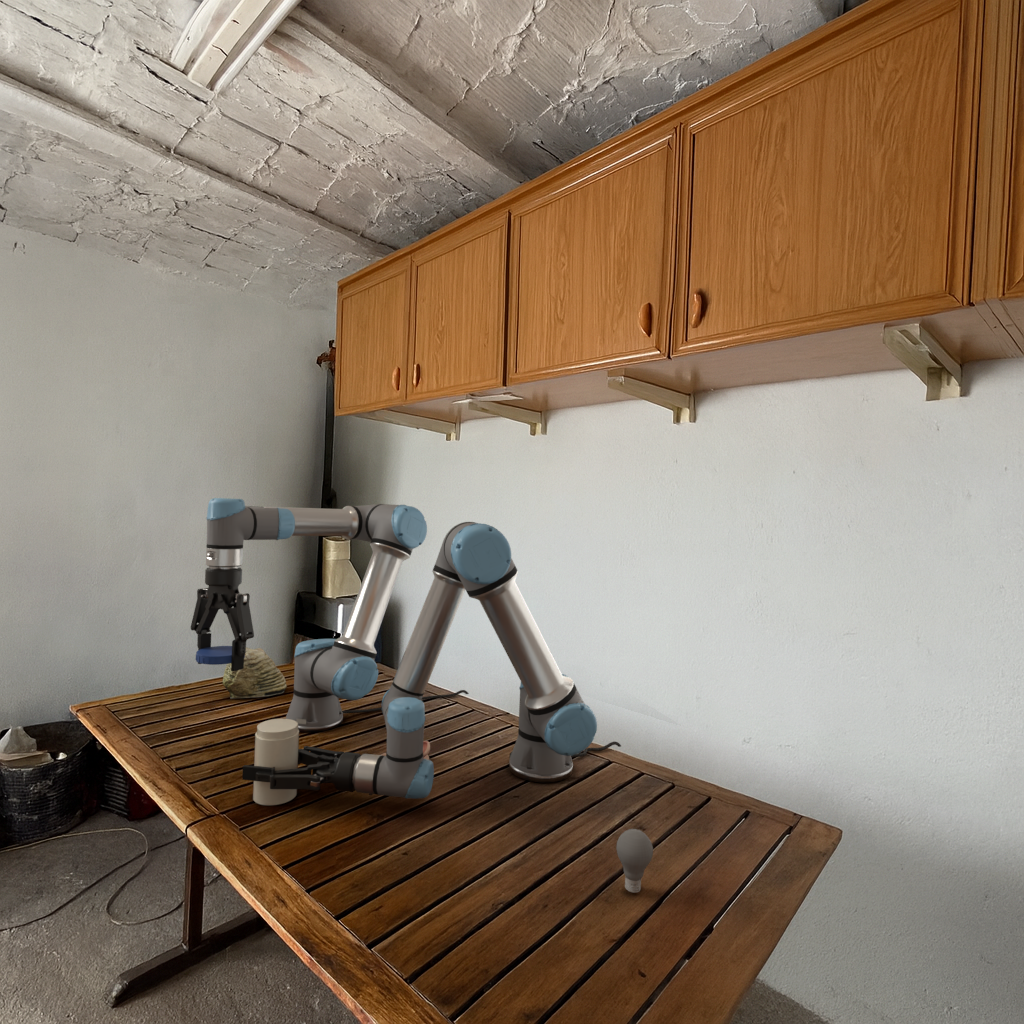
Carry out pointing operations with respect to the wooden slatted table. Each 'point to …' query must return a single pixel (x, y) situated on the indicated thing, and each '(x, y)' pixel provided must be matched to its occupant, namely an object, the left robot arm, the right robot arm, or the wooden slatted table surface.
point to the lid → (215, 655)
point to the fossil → (254, 677)
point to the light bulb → (634, 857)
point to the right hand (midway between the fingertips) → (255, 762)
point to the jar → (275, 757)
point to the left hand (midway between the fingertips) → (220, 666)
